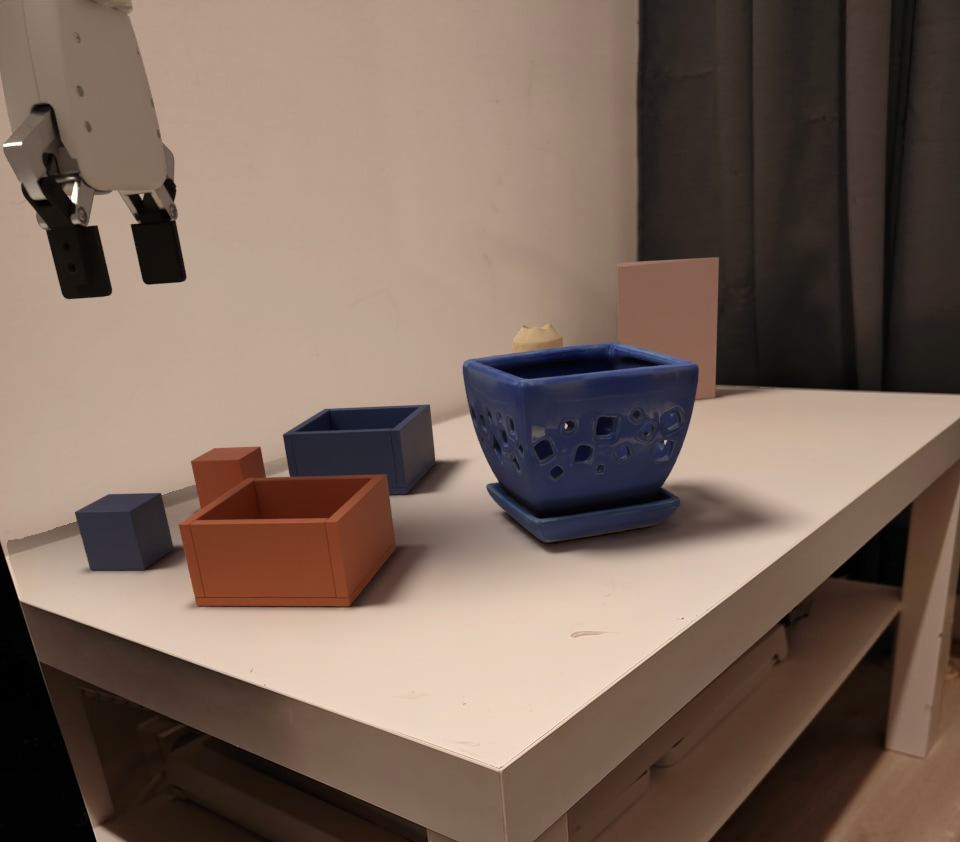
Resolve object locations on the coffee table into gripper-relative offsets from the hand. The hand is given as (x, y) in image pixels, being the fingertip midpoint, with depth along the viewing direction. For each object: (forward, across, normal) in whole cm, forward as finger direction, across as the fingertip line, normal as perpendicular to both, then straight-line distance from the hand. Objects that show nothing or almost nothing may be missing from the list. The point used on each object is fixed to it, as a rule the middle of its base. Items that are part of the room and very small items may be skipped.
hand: (129, 289), depth 62 cm
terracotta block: (+19, -13, -2) cm, 23 cm away
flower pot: (+19, -7, +29) cm, 35 cm away
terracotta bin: (+19, +4, +11) cm, 22 cm away
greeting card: (+19, -50, +34) cm, 64 cm away
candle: (+19, -44, +21) cm, 53 cm away
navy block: (+19, +1, -4) cm, 19 cm away
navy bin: (+19, -20, +8) cm, 29 cm away
